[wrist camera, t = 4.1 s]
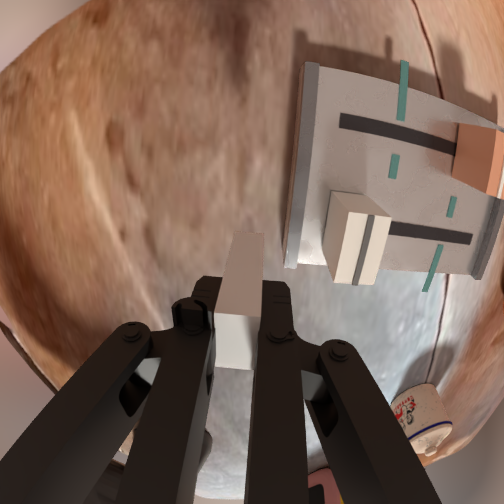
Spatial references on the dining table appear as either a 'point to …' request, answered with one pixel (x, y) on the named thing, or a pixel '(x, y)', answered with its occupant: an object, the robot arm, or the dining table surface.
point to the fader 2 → (480, 159)
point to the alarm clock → (323, 488)
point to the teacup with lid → (422, 417)
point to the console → (386, 172)
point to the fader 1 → (354, 238)
